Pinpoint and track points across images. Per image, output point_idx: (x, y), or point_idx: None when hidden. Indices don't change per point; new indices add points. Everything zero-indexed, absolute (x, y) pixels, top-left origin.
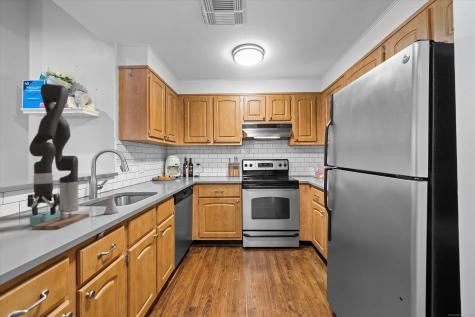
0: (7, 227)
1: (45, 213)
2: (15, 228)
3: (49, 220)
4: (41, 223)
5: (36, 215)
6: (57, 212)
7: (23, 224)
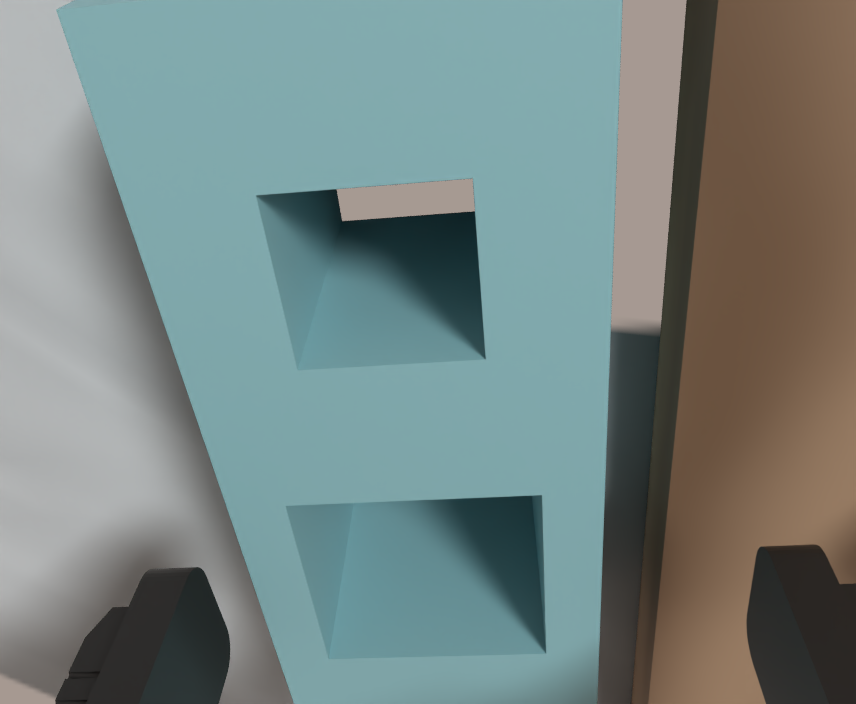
0: (33, 664)
1: (348, 470)
2: (256, 699)
3: (691, 529)
4: (681, 694)
5: (305, 656)
6: (608, 150)
7: (96, 529)
